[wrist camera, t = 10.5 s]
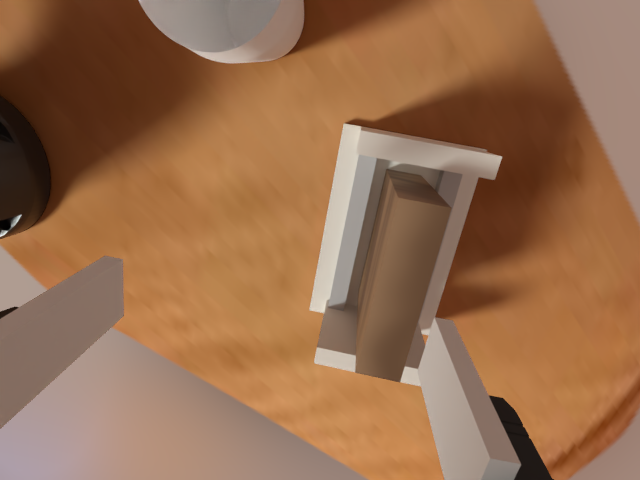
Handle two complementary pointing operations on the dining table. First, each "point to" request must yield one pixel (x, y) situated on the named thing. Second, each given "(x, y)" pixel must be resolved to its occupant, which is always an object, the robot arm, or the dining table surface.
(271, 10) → the cup
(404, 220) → the door panel
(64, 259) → the dining table surface
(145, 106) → the dining table surface
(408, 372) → the track frame
